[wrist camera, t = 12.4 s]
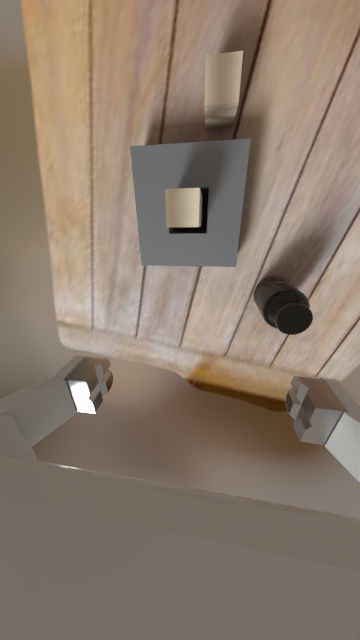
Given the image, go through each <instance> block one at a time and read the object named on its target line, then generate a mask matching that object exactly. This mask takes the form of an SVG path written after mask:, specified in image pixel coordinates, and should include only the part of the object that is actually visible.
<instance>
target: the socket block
mask: <svg viewBox="0 0 360 640" xmlns="http://www.w3.org/2000/svg"><path fill="white" fill-rule="evenodd" d="M250 142H251V138H248V139H233V140H218V141H203V142H189V143H174V144H159V145H144V146H130V149H131V159H132V169H133V180H134V190H135V200H136V210H137V220H138V231H139V241H140V251H141V261H142V265H159V266H225V267H236V262H237V253H238V245H239V236H240V227H241V219H242V210H243V202H244V193H245V184H246V176H247V167H248V159H249V150H250ZM178 188H200V190H201V193H203V192H209V196H208V218H207V232H174V227H167V225H166V200H165V189H178Z"/></svg>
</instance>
